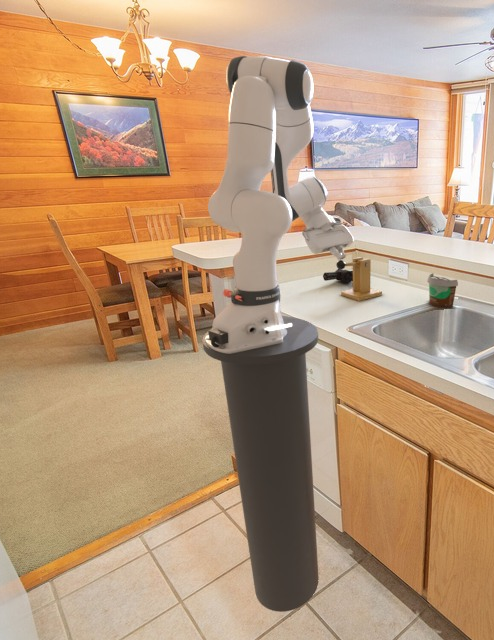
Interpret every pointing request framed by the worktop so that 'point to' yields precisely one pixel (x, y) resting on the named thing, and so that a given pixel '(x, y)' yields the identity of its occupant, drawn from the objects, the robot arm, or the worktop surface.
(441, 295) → the food container
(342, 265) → the latch lever
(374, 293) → the lever stand
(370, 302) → the worktop surface
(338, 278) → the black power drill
